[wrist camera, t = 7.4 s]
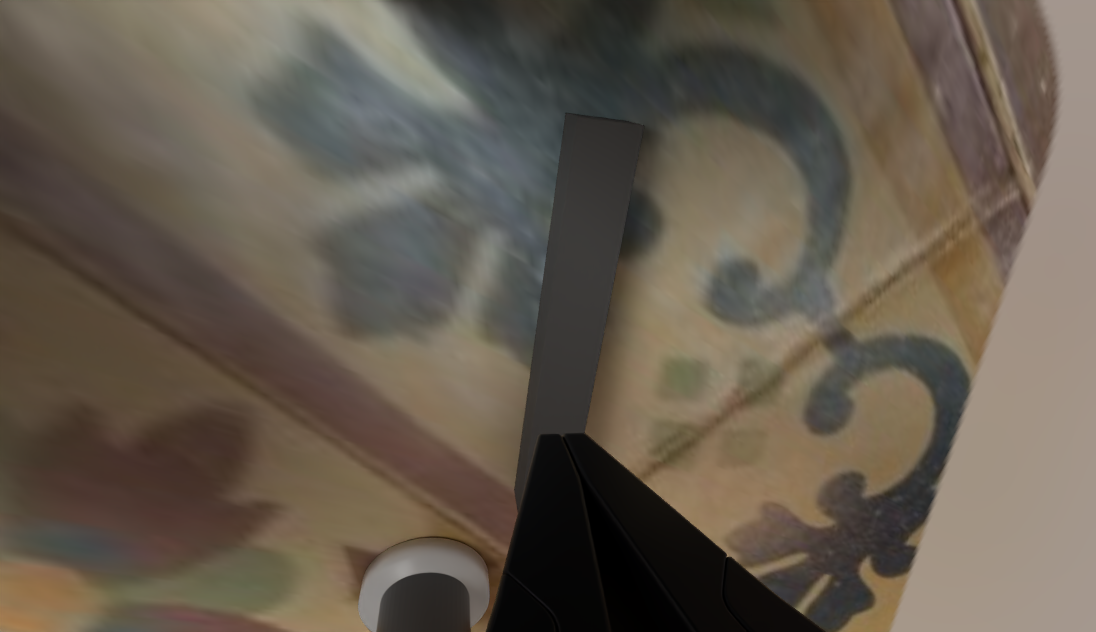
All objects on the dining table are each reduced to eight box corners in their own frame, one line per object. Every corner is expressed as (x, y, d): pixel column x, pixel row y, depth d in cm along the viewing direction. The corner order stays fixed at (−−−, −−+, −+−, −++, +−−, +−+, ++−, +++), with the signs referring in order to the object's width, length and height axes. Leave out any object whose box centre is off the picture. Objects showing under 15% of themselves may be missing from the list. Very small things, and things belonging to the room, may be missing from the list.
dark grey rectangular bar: (558, 482, 18) (568, 517, 17) (513, 483, 18) (518, 519, 16) (623, 119, 13) (644, 125, 12) (563, 112, 13) (577, 116, 12)
